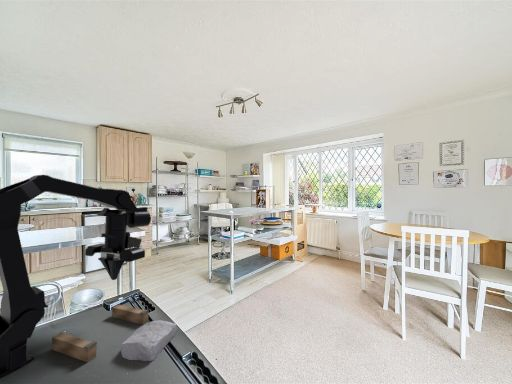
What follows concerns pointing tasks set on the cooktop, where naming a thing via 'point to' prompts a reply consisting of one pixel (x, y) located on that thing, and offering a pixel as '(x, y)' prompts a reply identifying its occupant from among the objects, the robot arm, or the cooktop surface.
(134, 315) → the wooden blocks
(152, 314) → the cooktop surface
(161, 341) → the stone block
